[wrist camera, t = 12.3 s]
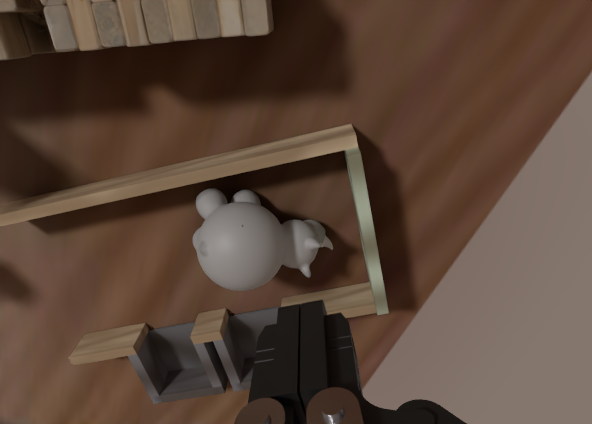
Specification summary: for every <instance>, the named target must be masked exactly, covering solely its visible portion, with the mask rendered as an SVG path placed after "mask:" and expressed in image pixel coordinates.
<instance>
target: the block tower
mask: <svg viewBox="0 0 592 424" xmlns="http://www.w3.org/2000/svg"><path fill="white" fill-rule="evenodd" d="M273 30H274V24H273V14H272V5H271V0H0V60H10V59H18V58H26V57H31V55H34V54H42V53H54V52H69V51H78V50H81V51H89V50H100V49H106V48H111V47H120V46H128V47H136V46H146V45H152V44H158V43H168V42H175V41H186V40H196V39H209V38H219V37H234V36H243V35H247V36H260V35H267V34H269V33H270V32H272V31H273Z"/></svg>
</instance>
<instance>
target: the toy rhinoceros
mask: <svg viewBox="0 0 592 424" xmlns="http://www.w3.org/2000/svg"><path fill="white" fill-rule="evenodd" d="M196 207H197V210H198V212H199V214H200V215H201V216H202V217H203V218H204V219H205V221H204V223H203V225H202V226H201V227H200V228H199V229H197V231H196V232H195V233H194V236H193V245H194V247H195V249H196V251H197V256H198V260H199V263H200V265H201V267H202V269H203V270H204V272H205V273H206V275H207V276H208V277H209V278H210V279H211V280H212V281H214V282H215V283H216V284H218V285H220V286H222V287H224V288H227V289H230V290H235V291H246V290H252V289H255V288H258V287H260V286H262V285H264V284H266V283H267V282H268V281H270V280H271V279H272V278H273V277H274V276H275V275H276V274H277V272H278V271H279V269H280V267H281V265H282V264H283V265H285V266H287V267H290V268H298V269H300V270H301V272H302V273H303V274H304V275H305V276H306V277H308V278H310V276H311V272H310V268H309V266H310V264H311V262H312V261H313V260H314V259H315V257H316V254H317V252H318V249H319V248H320V247H323V246H324V247H328V248H330V249H331V250H333V245H332V243H331V241H330V240H329V239H328V238H327V237H326V235H325V229H324V228H323V227H322V225H321V224H320V223H319V222H317V221H315V220H304V221H301V220H289V221H286V222H284V223H283V224H280V223H279V221H278V219H277V218H276V217H275V216H274V215H273V214H272V213H271V212H270V211H269V210H267V209H266V208H264V207H262V206H261V203H260V200H259V198H258V196H257V195H256V194H255V193H254V192H253V191H251V190H241V191H239V192H237V193H236V194H235V195H234V196H233V197H232V199H231V203H229V204H228V203H227V199H226V197H225V196H224V194H223V193H222V192H221V191H219V190H218V189H215V188H209V189H206V190H204V191H202V192H201V193H200V194H199V195H198V196H197V198H196Z"/></svg>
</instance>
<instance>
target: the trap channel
mask: <svg viewBox="0 0 592 424" xmlns="http://www.w3.org/2000/svg"><path fill="white" fill-rule="evenodd" d="M343 150H344V153H345V158H346V163H347V169H348V174H349V179H350V184H351V189H352V195H353V200H354V205H355V210H356V215H357V220H358V226H359V231H360V236H361V241H362V246H363V251H364V257H365V262H366V267H367V272H368V277H369V282H367V283H362V284H356V285H351V286H345V287H340V288H334V289H329V290H323V291H318V292H312V293H307V294H301V295H296V296H290V297H285V298H282V303H281V306H280V307H284V306H290V305H295V304H301V303H306V302H312V301H317V300H323V301H324V304H325V308H326V312H327V315H329V314H334V313H340V312H341V313H342V314H343V316H344V317H345V318H350V317H356V316H361V315H367V314H373V313H377V315H381V314H387V313H389V311H388V305H387V300H386V294H385V288H384V283H383V277H382V271H381V265H380V260H379V254H378V248H377V243H376V237H375V231H374V226H373V220H372V214H371V209H370V203H369V197H368V191H367V186H366V180H365V174H364V169H363V163H362V157H361V152H360V150H359V148H358V143H357V137H356V133H355V131H354V129H353V127H352V124H348V125H344V126H340V127H335V128H331V129H326V130H322V131H318V132H313V133H309V134H305V135H300V136H296V137H291V138H287V139H283V140H278V141H274V142H270V143H265V144H261V145H257V146H252V147H248V148H243V149H239V150H235V151H230V152H226V153H222V154H217V155H213V156H208V157H204V158H200V159H195V160H191V161H187V162H182V163H178V164H173V165H169V166H165V167H160V168H156V169H152V170H147V171H143V172H139V173H134V174H130V175H125V176H121V177H117V178H112V179H108V180H104V181H99V182H95V183H90V184H86V185H82V186H77V187H73V188H69V189H64V190H60V191H55V192H51V193H47V194H42V195H38V196H34V197H29V198H25V199H21V200H16V201H12V202H8V203H6V204H5V205H3V206H1V207H0V226H5V225H9V224H14V223H18V222H23V221H27V220H32V219H36V218H41V217H45V216H50V215H54V214H59V213H63V212H68V211H72V210H77V209H81V208H86V207H90V206H95V205H99V204H104V203H108V202H113V201H117V200H122V199H126V198H131V197H135V196H140V195H144V194H149V193H153V192H158V191H162V190H167V189H171V188H176V187H181V186H185V185H190V184H194V183H199V182H203V181H208V180H212V179H217V178H221V177H226V176H230V175H235V174H239V173H244V172H248V171H253V170H257V169H262V168H266V167H271V166H275V165H280V164H284V163H289V162H293V161H298V160H302V159H307V158H311V157H316V156H320V155H325V154H329V153H334V152H338V151H343ZM278 308H279V307H275V308H269V309H263V310H258V311H252V312H247V313H241V314H236V315H230V316H229V315H228V312H227V310H226V308H224V309H219V310H213V311H208V312H202V313H199V314H198V316H197V319H196V322H191V323H185V324H180V325H174V326H169V327H163V328H157V329H152V330H149V329H148V327H147V325H146V323H142V324H136V325H131V326H125V327H120V328H114V329H109V330H103V331H98V332H92V333H87V334H85V335H84V337H83V338H82V339H81V341H80V342H79V344H78V345H77V347H76V348H75V349H74V351H73V352H72V354H71V355H70V357H69V360H70V361H71V363H72V364H73V365H77V364H83V363H89V362H95V361H101V360H106V359H112V358H118V357H124V356H128V358H129V359H130V361H131V363H132V365H133V367H134V369H135V370H136V372H137V374H138V376H139V378H140V380H141V381H142V383H143V385H144V387H145V389H146V391H147V392H148V394H149V396H150V398H151V400H152V401H153V403H154V404H157V403H163V402H169V401H176V400H182V399H189V398H195V397H201V396H208V395H214V394H221V393H225V390H226V386H227V381H228V378H229V380H230V383H231V385H232V388H233V390H234V391H240V390H246V389H250V387H251V380H252V373H253V366H254V364H255V362H254V360H255V353H256V346H257V340H258V337H259V335H260V334H261V332H262V330H263V329H264V327H265V326H266V325H272V324H277V314H278Z"/></svg>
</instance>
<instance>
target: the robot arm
mask: <svg viewBox="0 0 592 424" xmlns="http://www.w3.org/2000/svg"><path fill="white" fill-rule="evenodd" d="M254 362H255V364H254V366H253V373H252V380H251V387H250V393H249V400H248V404H247V405H246V406H245V407H243V409H242V410H241V411H240V412H239V414H238V415H237V417H236V419H235V422H234V424H466V423H465V422H463V421H462V420H460V419H459V418H457V417H456V416H454V415H453V414H451V413H450V412H448V411H447V410H446V409H444V408H443V407H441V406H440V405H438V404H436V403H434V402H432V401H428V400H421V399H420V400H412V401H409V402H406V403H404V404H402V405H401V406H400V407H399V408H398V409H397V410H396V411H395V410H389V409H383V408H379V407H377V406H374V405H372V404H371V403H369V402H368V401H366V399H365V398H364V397H363V394H362V387H361V381H360V374H359V368H358V361H357V355H356V351H355V347H354V342H353V338H352V334H351V329H350V325H349V322H348V321H347V319H346V318H345V317H344V316H343V314H342V313H341V312H340V313H334V314H329V315H327V312H326V308H325V304H324V301H323V300H317V301H312V302H306V303H301V304H295V305H290V306H284V307H279V308H278V314H277V324H272V325H266V326H265V327H264V329H263V330H262V332H261V334H260V335H259V337H258V340H257V346H256V353H255V360H254Z"/></svg>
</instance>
